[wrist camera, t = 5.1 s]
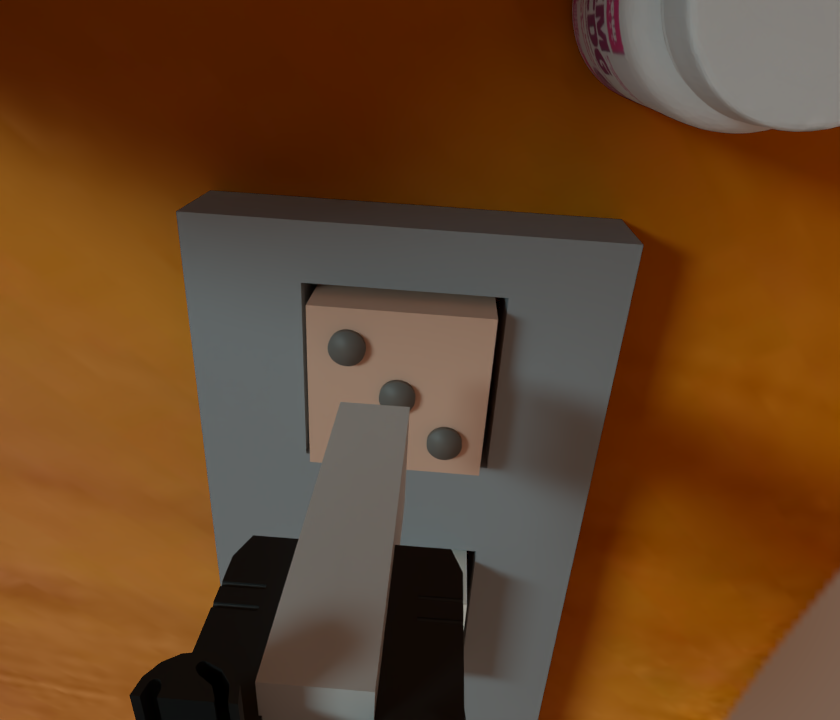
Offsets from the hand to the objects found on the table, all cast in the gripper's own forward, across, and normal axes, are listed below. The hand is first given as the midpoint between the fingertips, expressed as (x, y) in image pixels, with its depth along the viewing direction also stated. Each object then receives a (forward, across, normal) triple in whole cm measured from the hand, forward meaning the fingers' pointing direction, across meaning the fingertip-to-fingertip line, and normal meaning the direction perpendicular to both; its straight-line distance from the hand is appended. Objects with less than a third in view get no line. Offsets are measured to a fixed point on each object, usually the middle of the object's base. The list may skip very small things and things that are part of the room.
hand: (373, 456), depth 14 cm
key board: (+7, 0, -10) cm, 12 cm away
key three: (+6, 0, -1) cm, 6 cm away
